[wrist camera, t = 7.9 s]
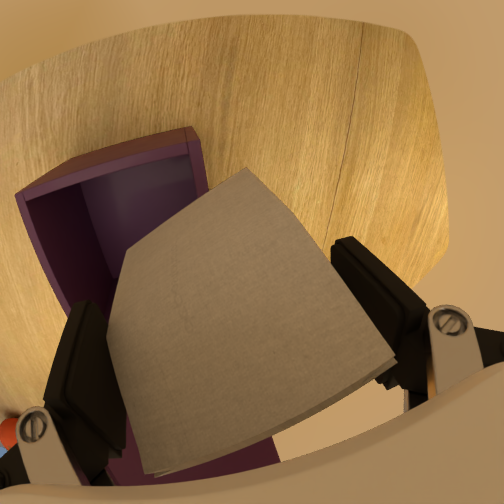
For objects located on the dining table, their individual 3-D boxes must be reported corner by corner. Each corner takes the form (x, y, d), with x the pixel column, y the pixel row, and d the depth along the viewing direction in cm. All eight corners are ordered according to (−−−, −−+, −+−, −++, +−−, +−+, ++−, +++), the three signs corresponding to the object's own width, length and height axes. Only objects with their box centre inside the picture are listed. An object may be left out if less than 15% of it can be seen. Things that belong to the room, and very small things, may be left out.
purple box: (69, 159, 26) (13, 194, 15) (192, 125, 28) (199, 139, 17) (110, 281, 34) (91, 357, 23) (216, 257, 36) (237, 330, 25)
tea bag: (126, 250, 13) (91, 452, 5) (246, 167, 13) (379, 306, 4) (173, 300, 15) (192, 489, 7) (283, 228, 15) (405, 388, 6)
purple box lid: (43, 521, 7) (52, 527, 8) (299, 512, 9) (300, 516, 10) (89, 358, 23) (92, 364, 23) (237, 329, 25) (238, 337, 25)
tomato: (-1, 403, 40) (-11, 439, 31) (39, 418, 44) (32, 456, 35) (8, 424, 43) (0, 457, 35) (44, 437, 47) (39, 472, 39)
